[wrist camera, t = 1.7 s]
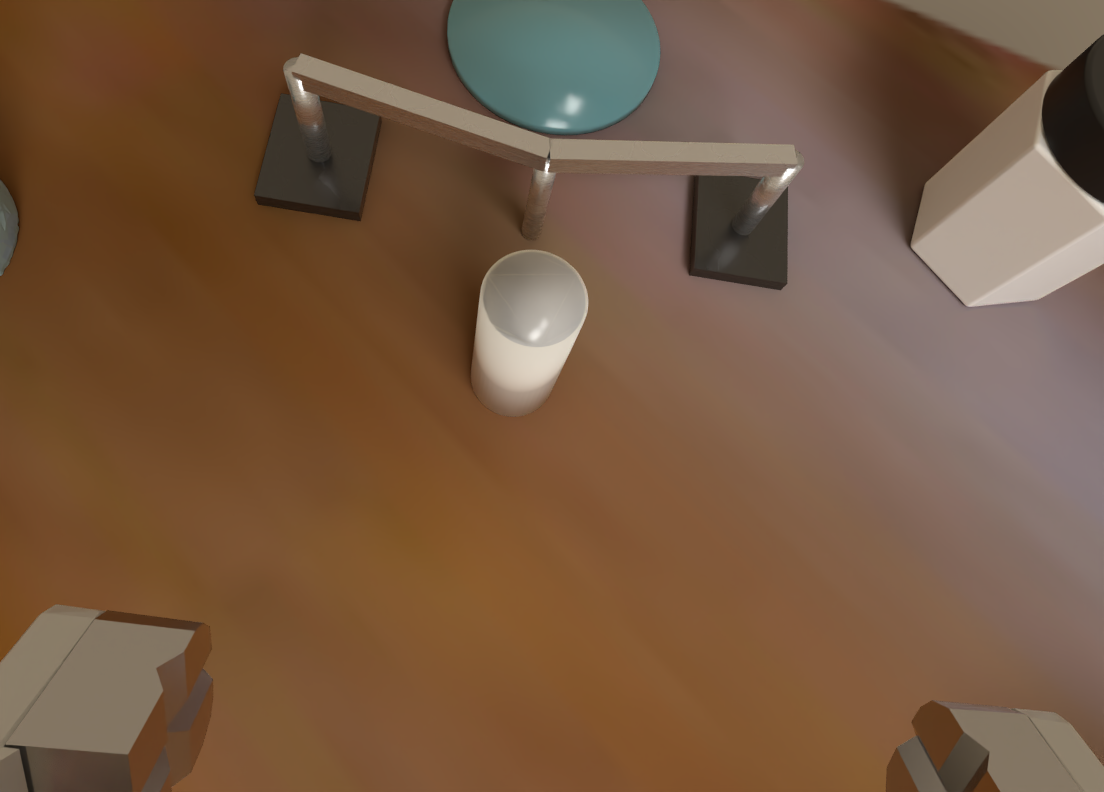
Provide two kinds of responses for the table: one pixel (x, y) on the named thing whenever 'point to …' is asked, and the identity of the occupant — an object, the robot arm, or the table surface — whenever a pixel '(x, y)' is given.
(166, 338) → the table surface
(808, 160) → the table surface
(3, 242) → the grey-green open cylinder
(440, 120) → the bent bar stand
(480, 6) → the saucer
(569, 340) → the salt shaker
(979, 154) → the jar
